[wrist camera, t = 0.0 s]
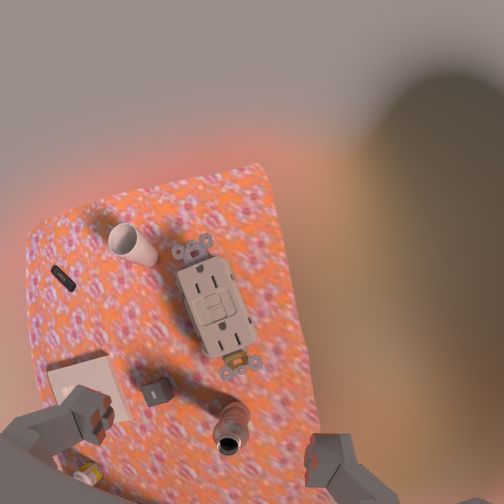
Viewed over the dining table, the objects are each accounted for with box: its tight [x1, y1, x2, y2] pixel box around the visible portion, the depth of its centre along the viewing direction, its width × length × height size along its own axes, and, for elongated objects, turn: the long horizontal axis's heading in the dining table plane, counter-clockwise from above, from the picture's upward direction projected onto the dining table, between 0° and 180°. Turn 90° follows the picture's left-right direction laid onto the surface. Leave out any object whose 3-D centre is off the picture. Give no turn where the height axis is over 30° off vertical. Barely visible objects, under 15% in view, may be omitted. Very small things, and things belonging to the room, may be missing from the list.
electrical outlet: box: [171, 233, 263, 381], centre depth 60 cm, size 12×28×10 cm, turn 22°
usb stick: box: [51, 266, 76, 292], centre depth 66 cm, size 10×3×2 cm, turn 57°
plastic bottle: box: [213, 401, 250, 456], centre depth 49 cm, size 6×7×20 cm
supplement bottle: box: [73, 462, 104, 486], centre depth 49 cm, size 6×6×10 cm
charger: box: [141, 378, 174, 407], centre depth 57 cm, size 5×5×6 cm
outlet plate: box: [47, 355, 133, 423], centre depth 58 cm, size 16×20×2 cm
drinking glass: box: [108, 223, 158, 267], centre depth 60 cm, size 7×7×15 cm
